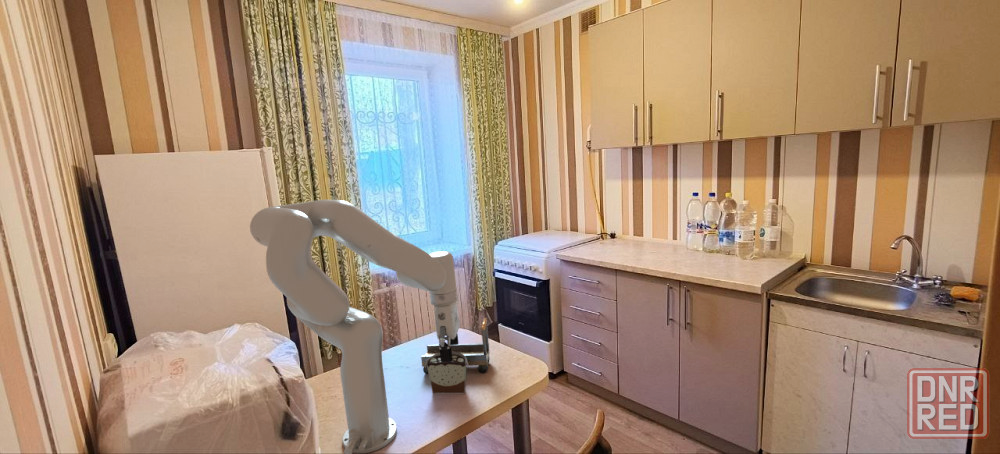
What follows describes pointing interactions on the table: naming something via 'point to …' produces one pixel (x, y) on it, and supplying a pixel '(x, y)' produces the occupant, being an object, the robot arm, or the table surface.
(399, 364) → the table surface
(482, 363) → the trolley
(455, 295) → the robot arm
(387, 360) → the table surface
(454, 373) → the food container
